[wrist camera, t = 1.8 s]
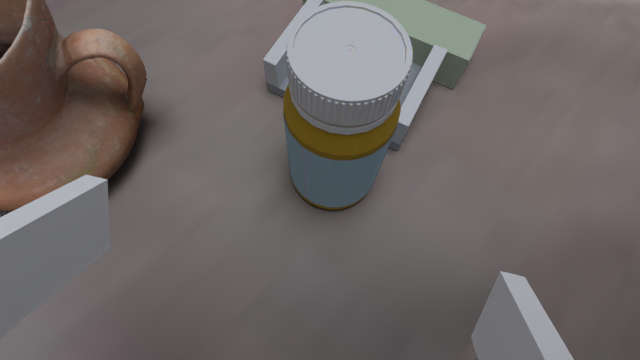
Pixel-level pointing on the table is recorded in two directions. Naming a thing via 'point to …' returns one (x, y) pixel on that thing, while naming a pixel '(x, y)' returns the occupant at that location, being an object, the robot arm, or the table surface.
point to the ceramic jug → (62, 103)
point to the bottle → (342, 99)
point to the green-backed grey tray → (427, 46)
